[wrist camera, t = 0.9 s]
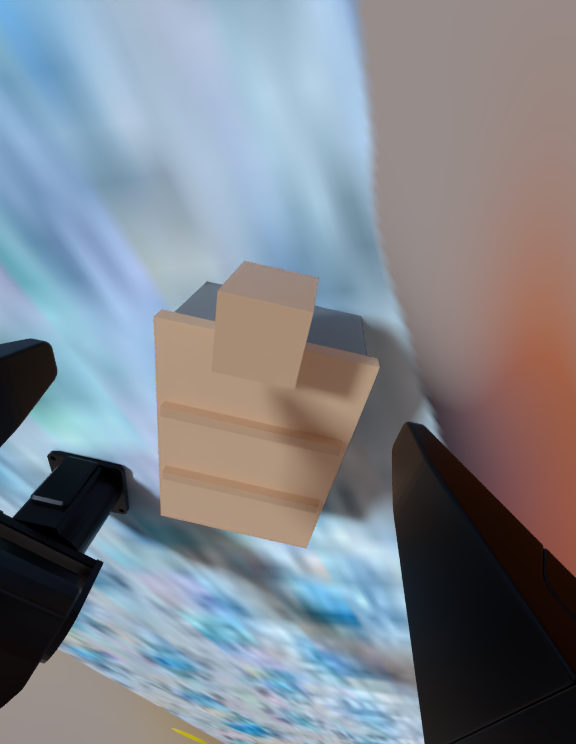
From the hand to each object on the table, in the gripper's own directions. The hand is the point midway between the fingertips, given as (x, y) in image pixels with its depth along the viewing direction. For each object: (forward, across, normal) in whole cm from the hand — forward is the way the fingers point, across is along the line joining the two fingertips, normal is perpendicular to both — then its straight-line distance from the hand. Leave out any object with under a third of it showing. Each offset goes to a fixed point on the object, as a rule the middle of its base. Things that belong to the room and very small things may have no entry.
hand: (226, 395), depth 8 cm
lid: (+7, 0, +7) cm, 10 cm away
